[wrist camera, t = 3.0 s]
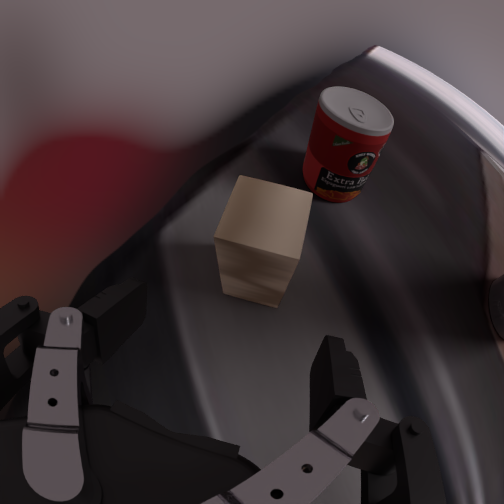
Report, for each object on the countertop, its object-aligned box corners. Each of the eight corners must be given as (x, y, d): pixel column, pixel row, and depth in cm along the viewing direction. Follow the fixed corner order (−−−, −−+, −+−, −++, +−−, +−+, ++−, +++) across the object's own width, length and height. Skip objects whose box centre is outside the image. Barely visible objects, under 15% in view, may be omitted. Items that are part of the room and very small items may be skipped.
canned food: (311, 207, 29) (339, 128, 19) (293, 157, 33) (308, 83, 23) (370, 202, 30) (409, 134, 20) (346, 156, 34) (371, 89, 24)
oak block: (289, 259, 26) (313, 193, 17) (277, 308, 24) (299, 259, 15) (239, 246, 27) (239, 175, 18) (223, 293, 24) (213, 236, 15)
